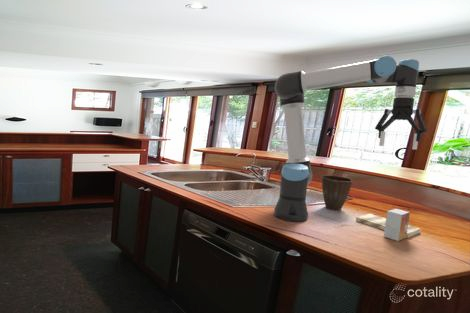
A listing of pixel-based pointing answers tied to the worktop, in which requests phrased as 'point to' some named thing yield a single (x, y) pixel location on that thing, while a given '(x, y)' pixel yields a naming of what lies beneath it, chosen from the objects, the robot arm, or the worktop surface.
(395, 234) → the small box
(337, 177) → the plant pot
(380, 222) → the board
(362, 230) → the worktop surface
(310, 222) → the worktop surface
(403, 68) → the robot arm
